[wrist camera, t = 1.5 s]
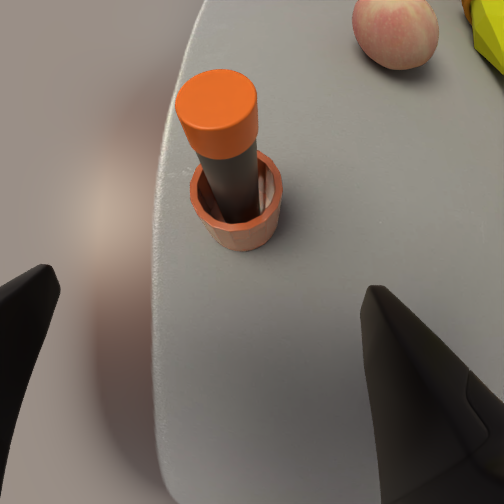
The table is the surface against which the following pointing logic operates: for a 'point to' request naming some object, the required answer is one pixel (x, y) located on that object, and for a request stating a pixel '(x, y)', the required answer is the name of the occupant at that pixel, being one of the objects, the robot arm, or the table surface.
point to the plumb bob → (487, 28)
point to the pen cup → (240, 233)
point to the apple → (396, 31)
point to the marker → (224, 138)
